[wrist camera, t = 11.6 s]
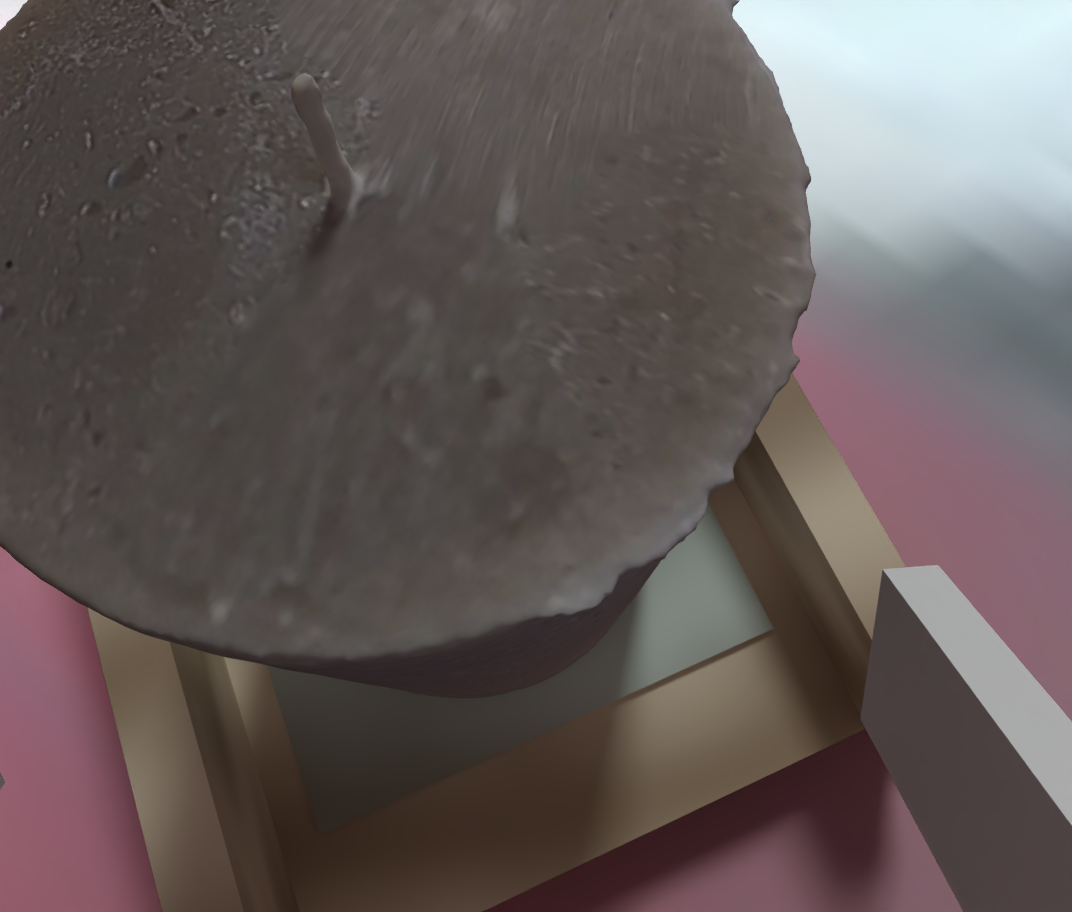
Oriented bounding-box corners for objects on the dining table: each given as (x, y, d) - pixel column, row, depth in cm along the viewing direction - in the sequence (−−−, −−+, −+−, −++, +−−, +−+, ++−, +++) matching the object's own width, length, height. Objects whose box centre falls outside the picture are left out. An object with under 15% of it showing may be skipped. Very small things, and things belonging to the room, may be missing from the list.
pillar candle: (214, 508, 21) (-452, 105, 7) (480, 279, 23) (372, -398, 9) (463, 789, 19) (216, 1013, 5) (734, 510, 21) (1113, 94, 7)
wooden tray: (97, 383, 25) (-9, 303, 20) (619, 183, 27) (633, 68, 22) (267, 999, 20) (176, 1085, 15) (905, 696, 22) (1003, 688, 17)
